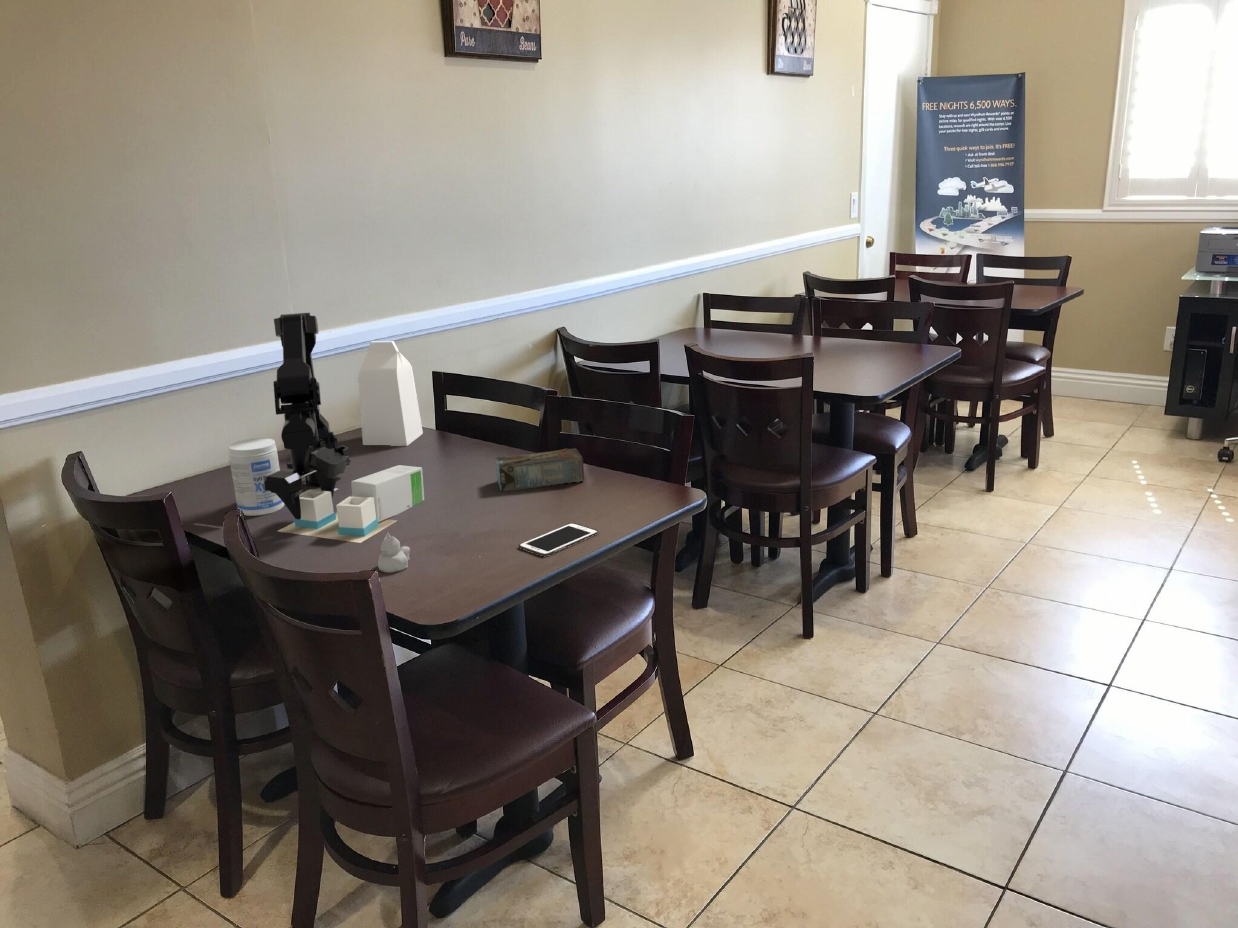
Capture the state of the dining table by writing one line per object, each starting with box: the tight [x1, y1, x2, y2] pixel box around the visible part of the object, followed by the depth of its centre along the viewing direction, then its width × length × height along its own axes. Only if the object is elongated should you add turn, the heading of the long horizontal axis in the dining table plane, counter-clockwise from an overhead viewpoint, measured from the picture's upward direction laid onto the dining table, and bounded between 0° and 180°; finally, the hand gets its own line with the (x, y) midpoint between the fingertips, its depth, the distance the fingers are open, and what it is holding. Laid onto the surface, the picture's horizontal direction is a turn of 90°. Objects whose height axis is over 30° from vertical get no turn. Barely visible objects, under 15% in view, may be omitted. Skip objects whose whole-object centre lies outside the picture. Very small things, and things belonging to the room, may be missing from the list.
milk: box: [357, 340, 424, 447], centre depth 247 cm, size 12×12×26 cm
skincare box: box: [350, 464, 425, 522], centre depth 196 cm, size 8×7×16 cm
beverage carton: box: [495, 447, 585, 492], centre depth 213 cm, size 8×19×7 cm, turn 103°
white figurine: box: [377, 531, 411, 574], centre depth 169 cm, size 5×7×8 cm
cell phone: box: [518, 522, 600, 556], centre depth 180 cm, size 8×15×1 cm, turn 137°
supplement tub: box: [227, 437, 285, 517], centre depth 201 cm, size 10×10×15 cm
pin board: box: [277, 512, 398, 544], centre depth 189 cm, size 20×12×5 cm, turn 67°
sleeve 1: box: [294, 488, 336, 529], centre depth 191 cm, size 6×6×6 cm
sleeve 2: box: [335, 495, 379, 536], centre depth 186 cm, size 6×6×6 cm
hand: (313, 511), depth 191 cm, fingers open, 9 cm apart
